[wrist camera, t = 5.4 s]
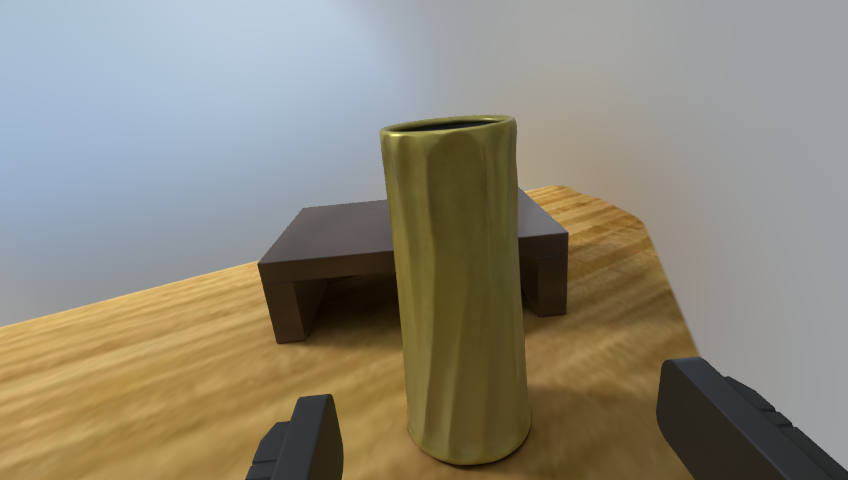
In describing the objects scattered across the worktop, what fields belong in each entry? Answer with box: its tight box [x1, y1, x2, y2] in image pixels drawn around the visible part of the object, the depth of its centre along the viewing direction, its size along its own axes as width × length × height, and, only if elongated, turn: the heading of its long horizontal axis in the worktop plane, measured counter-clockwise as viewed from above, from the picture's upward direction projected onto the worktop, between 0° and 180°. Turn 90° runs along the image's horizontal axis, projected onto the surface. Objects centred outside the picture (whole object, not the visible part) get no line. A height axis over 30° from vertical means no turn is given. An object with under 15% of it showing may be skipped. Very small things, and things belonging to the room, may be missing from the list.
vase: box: [380, 115, 531, 465], centre depth 19 cm, size 6×6×14 cm
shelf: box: [257, 187, 569, 343], centre depth 34 cm, size 20×13×6 cm, turn 93°
